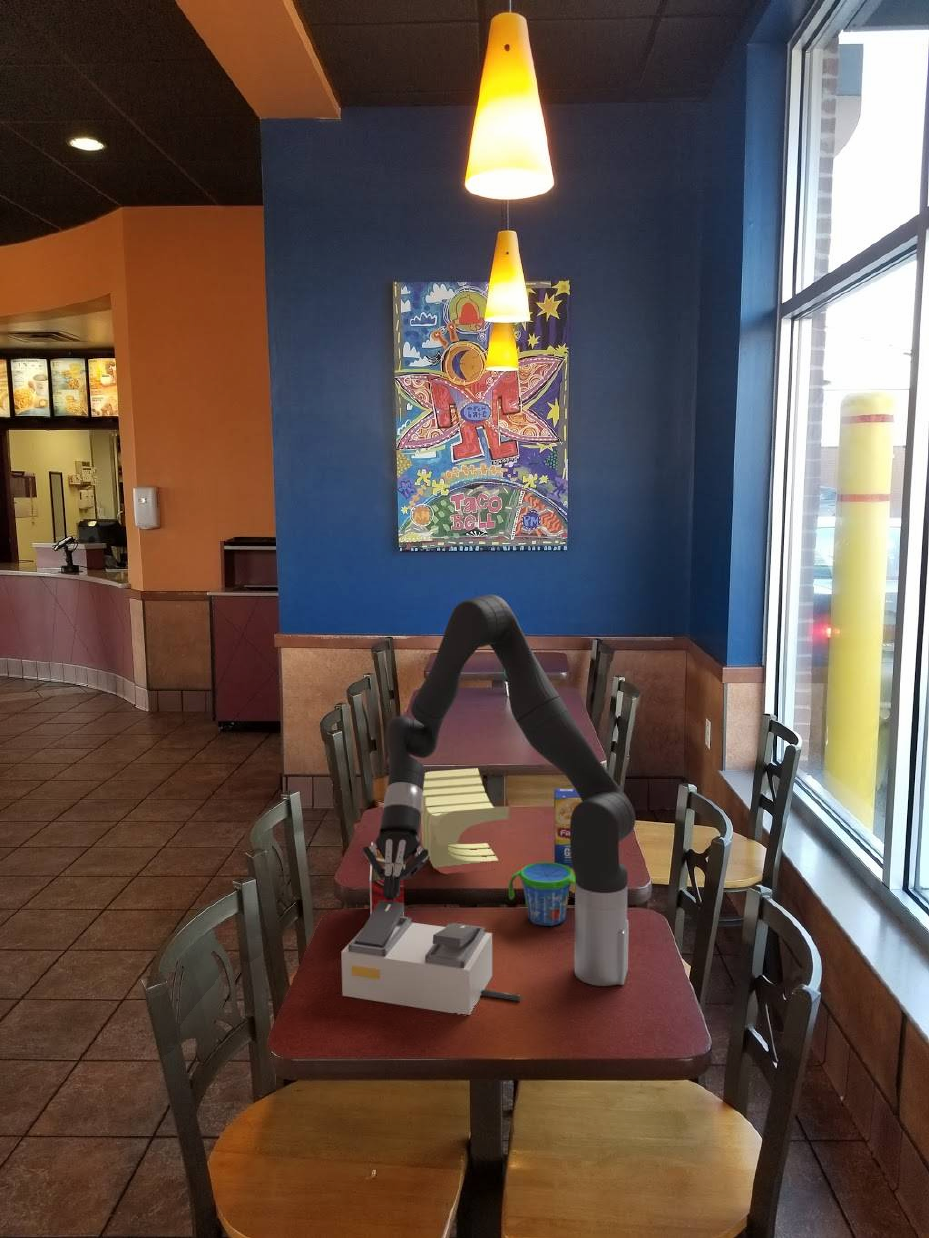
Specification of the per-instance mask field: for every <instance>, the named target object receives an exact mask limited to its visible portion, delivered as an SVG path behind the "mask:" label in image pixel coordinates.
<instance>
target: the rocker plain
mask: <svg viewBox="0 0 929 1238" xmlns="http://www.w3.org/2000/svg"><path fill="white" fill-rule="evenodd" d="M458 924H459V923H456V924H452V925H450V926H448V927H446V926H445V927H446V928H445V929H443V930H441V931H439V932H438V933H436V934H434V935H433V944H439V945H446V946H453V947H461V946H463V945H464V944H466V943H467V942H469V941H470V940H472V939H473V938H475V937H476V936H477V934H478V927H473V926H474V925H471V926H465V925H466V924H464V925H458Z"/></svg>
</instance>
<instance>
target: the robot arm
mask: <svg viewBox="0 0 929 1238" xmlns="http://www.w3.org/2000/svg"><path fill="white" fill-rule="evenodd" d="M487 646H489V647H490V648H491V649H492V650H493V653H494V654H495V655H496V657H497V658H498V660H499V662H500V663H501V665H502V668H503V671H504V673H505V678H506V682H507V689H508V699H509V707H510V710H511V714H512V716H513V718H514V720H515V722H516V723H517V725H518V727H519V729H520V730H521V731H522V733H523V735H524V736H525V738H526V740H527V742H528V743H529V744H530V746H531V747H532V748H533V749H534V750H535V751H536V753H538V754H539V755H541V756H542V757H543V758H544V759H545V760H546V761H548V762H549V763H551V764H552V765H553V766H555V768H557V769H558V770H559V771H560V772H561V773H563V775H564V776H565V777H566V778H567V779H568V781H569V782H570V784H571V785H572V786H573V789H576V791H577V793H578V794H579V796H580V798H581V800H582V802H581V803H579V804H578V805H577V806H576V807H575V809H574V810H573V812H572V816H571V821H570V848H571V864H572V868H573V870H574V873H575V899H574V960H573V962H574V964H573V965H574V966H573V967H574V975H575V976H576V978H577V979H578V980H580V981H581V982H582V983H585V984H587V985H588V984H589V985H591V986H598V987H607V986H608V987H610V986H616V985H621V986H623V985H625V980H626V977H627V974H628V970H629V928H630V927H629V925H630V924H629V920H628V883H629V882H628V881H629V880H628V876H629V875H628V869H627V867H626V866H625V865H624V864H623V863H621V862H620V850H619V849H620V848H619V847H620V842H621V841H622V840H624V839H625V838H627V837H629V835H630V834H631V833H632V832H633V830H634V829H635V825H636V814H635V813H636V812H635V810H634V807H633V804H632V803H631V801H630V799H629V798H628V796H627V795H626V793H625V791H623V790H622V789H621V787H620V786H619V784H618V783H617V782H616V781H615V779H614V778H613V777H612V776H611V774H610V773H609V771H608V770H607V769H606V768H605V766H604V765H603V763H602V762H601V761H600V759H599V757H598V756H597V754H596V753H595V751H594V750H593V748H592V747H591V745H590V743H589V742H588V740H587V738H586V737H585V735H584V734H583V732H582V731H581V729H580V728H579V726H578V725H577V723H576V721H575V719H574V718H573V716H572V713H571V712H570V711H569V709H568V707H567V706H566V704H565V703H564V701H563V699H562V697H561V696H560V694H559V693H558V691H557V690H556V689H555V687H554V685H553V684H552V682H551V680H550V679H549V677H548V676H547V674H546V672H545V671H544V668H543V667H542V666H541V663H540V662H539V660H538V659H537V657H536V655H535V653H534V652H533V650H532V648H531V647H530V644H529V642H528V640H527V638H526V636H525V634H524V631H523V630H522V628H521V625H520V623H519V622H518V620H517V618H516V615H515V614H514V611H513V610H512V609H511V607H510V606H509V604H508V603H507V602H506V601H505V600H504V599H503V598H502V597H500V596H498V595H496V594H485V595H481V596H476V597H473V598H468V599H465V600H462V601H461V602H460V603H458V604H457V605H456V606H455V607H454V608H453V611H452V613H451V614H450V616H449V619H448V622H447V624H446V627H445V631H444V634H443V636H442V640H441V642H440V645H439V648H438V650H437V653H436V656H435V657H434V658H435V659H434V661H433V664H432V666H431V668H430V671H429V672H428V674H427V676H426V678H425V680H424V681H423V683H422V685H421V687H420V688H419V690H418V692H417V693H416V695H415V697H414V699H413V701H412V703H411V705H410V712H411V714H412V717H414V718H410V717H406V716H402V715H400V716H399V715H398V716H396V717H394V718H393V719H392V720H391V721H390V722H389V723H388V726H387V729H386V731H385V732H386V733H385V742H386V743H385V744H386V748H387V749H386V751H387V757H388V765H389V774H388V779H387V780H388V781H387V788H386V792H385V794H384V799H383V803H382V804H383V805H382V806H383V807H382V812H381V818H380V825H379V833H378V836H377V837H376V839H375V844H373V845H372V846H371V845H370V846H364V847H363V849H362V851H363V854H364V855H365V858H366V859H367V861H368V862H369V865H371V866H372V867H373V869H374V870H375V872H376V873H377V875H378V877H380V878H381V877H382V878H384V886H383V894H384V896H385V897H386V899H387V900H392V901H395V898H398V896H399V893H400V885H401V881H402V880H403V881H404V880H405V879H407V880H410V879H411V878H412V877H413V876H414V875H415V874H417V872H418V871H419V870H420V869H421V868H422V867H423V866H425V864H426V863H427V862H428V860H429V858H430V856H429V852H428V850H427V849H424V847H423V846H421V842H420V838H419V836H420V829H421V814H422V810H423V809H422V806H423V786H424V779H425V773H426V768H425V766H424V765H423V764H422V763H421V762H420V761H418V760H417V759H416V758H419V759H426V758H428V757H430V756H432V755H433V754H434V753H435V751H436V749H437V747H438V741H439V736H440V732H441V731H440V730H441V728H442V725H443V722H444V719H445V718H446V716H447V714H448V712H449V711H450V709H451V707H452V706H453V704H454V702H455V700H456V698H457V696H458V694H459V691H460V685H461V675H462V670H463V669H464V667H465V665H466V663H467V662H468V660H469V659H470V658H471V657H472V655H473V654H474V653H475V652H476V651H477V650H478V649H479V648H480V649H481V648H484V647H487ZM412 756H413V757H412ZM414 757H415V758H414ZM377 850H379V852H380V854H381V855H382V857H383V859H384V860H385V869H383V868H382V867H381V866H380V864H379V862H378V861H377V859H376V857H377ZM413 856H415V857H414V858H413ZM412 858H413V859H412ZM411 859H412V860H411ZM410 860H411V862H409V861H410ZM429 861H430V860H429ZM407 862H409V864H408V865H407ZM395 863H396V865H395V870H394V864H395ZM393 874H394V877H393Z"/></svg>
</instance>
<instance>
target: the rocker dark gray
mask: <svg viewBox="0 0 929 1238" xmlns="http://www.w3.org/2000/svg"><path fill="white" fill-rule="evenodd" d="M403 911H404V912H405V902H404V903H397V902H389V901H381V900H379V901H378V903H377V905H376V906H375V908H374V910H373V912H372V914H371V915H369V918H368V919H367V920H366V923H365V924H364V926H363V928H362V929H363V930H362V929H361V930H362V931H361V930H360V931H361V933H360V935H359V937H358V938H357V940H356V944H358V945H365V946H372V947H379V948H384V946H385V945H386V944H387V942H388V940H389V938H390V936H391V935H392V933H393V931H394V929H395V927H396V925H397V923H398V921H399V919H400V917H401V915H402V913H403Z"/></svg>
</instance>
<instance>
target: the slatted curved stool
mask: <svg viewBox="0 0 929 1238" xmlns="http://www.w3.org/2000/svg"><path fill="white" fill-rule="evenodd" d="M480 775H481V774H480V771H479V768H478V767H476V768H462V769H450V770H447V769H446V770H435V771H434V770H433V771H427V772H426V771H425V779H424V786H423V806H422V809H423V810H422V814H421V822H420V828H421V845H422V848H423V849H427V850H428V852H429V856H430V858H429V862H430V864H431V865H432V867H433V869H434V868H437V867H444V866H452V865H461V864H470V863H480V862H491V861H499V859H498V857H497V855H496V854H495V853H494V851H493V850H492V848H491V847H490V846H489V843H488V842H487V843H486V842H484V843H459V840H460V837H461V835H462V834H463V833H464V832H465V831H466V830H467V829H469V828H471V827H473V826H475V825H479V824H483V823H489V822H494V821H503V820H510V806H503V807H502V806H499V807H495V806H493V804H492V802H490V799H489V797H488V794H487V793H486V790H485V787H484V785H483V781H482V778H481V776H480ZM488 848H490V849H488ZM470 849H477V850H470ZM493 855H495V856H493ZM482 856H487V857H482Z"/></svg>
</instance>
